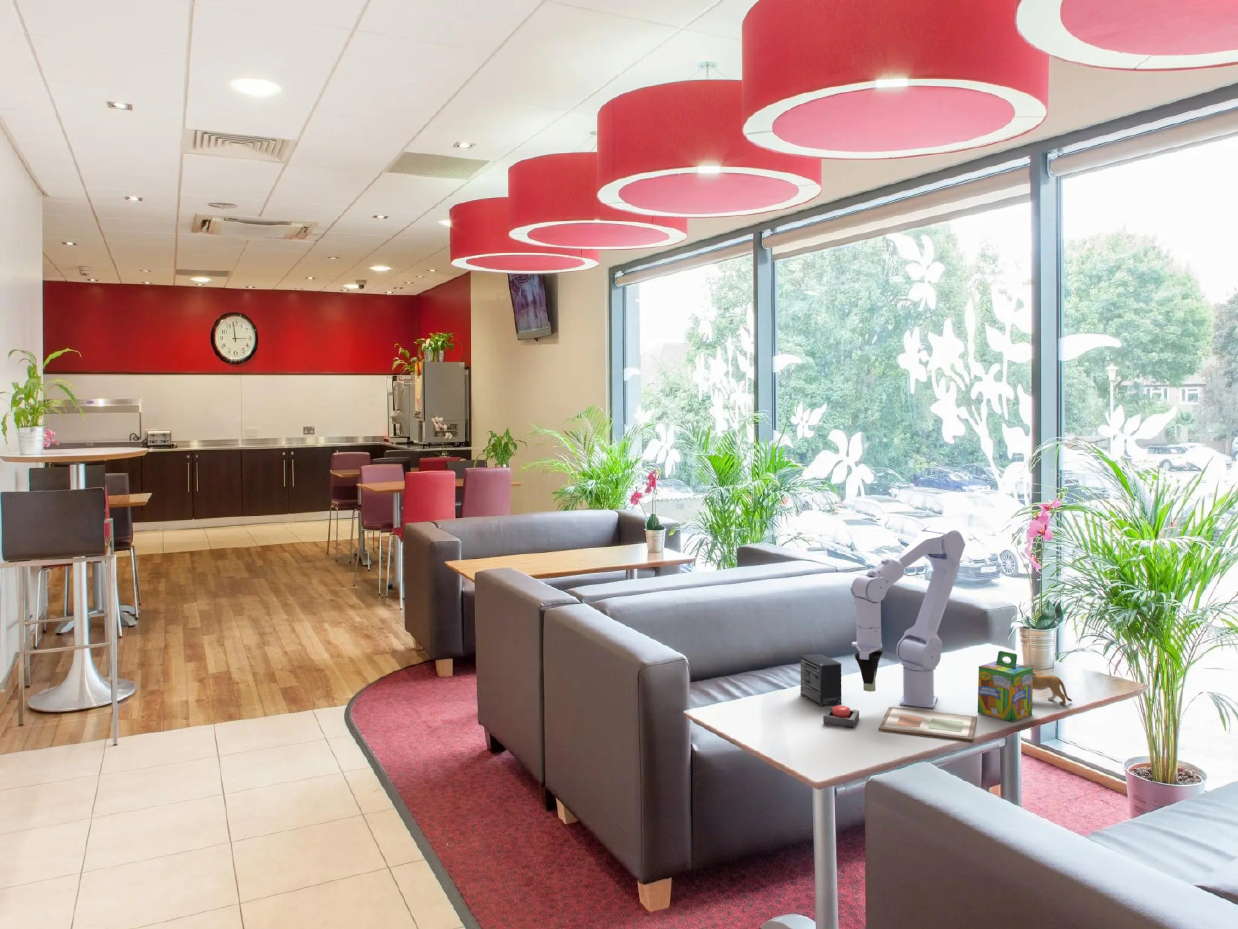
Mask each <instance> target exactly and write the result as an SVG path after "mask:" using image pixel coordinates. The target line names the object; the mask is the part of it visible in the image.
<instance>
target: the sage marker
mask: <svg viewBox="0 0 1238 929" xmlns="http://www.w3.org/2000/svg"><path fill="white" fill-rule="evenodd" d="M862 682H863V681H862ZM862 685H863V691H865V692H875V691H877V690H876V678H875V675H874V681H873V684H865V683H864V682H863V684H862Z"/></svg>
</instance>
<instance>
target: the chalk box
mask: <svg viewBox="0 0 1238 929" xmlns="http://www.w3.org/2000/svg"><path fill="white" fill-rule="evenodd" d="M1005 657H1007V658H1010V661H1004V660H1003V659H1004V658H1005ZM1017 661H1018V655H1017V654H1016V653H1013V652H1007V651H1004V650H999V651H998V654H997V657H996V660H995V661H992V662H988V663H985V664H982V665H979V666H978V682H977V684H978V685H977V686H978V688H977V713H978V714H983V715H985V716H989V717H993V718H996V719H999V720H1002V721H1006V722H1010V723H1014V722H1016V721H1019V720H1021V719H1022V720H1023V719H1024V718H1026V717H1027V718H1028V717H1029V716H1032V714H1033V690H1034V689H1033V673H1034V668H1032V667H1031V666H1027V665H1023V664H1017Z"/></svg>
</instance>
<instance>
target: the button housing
mask: <svg viewBox="0 0 1238 929" xmlns="http://www.w3.org/2000/svg"><path fill="white" fill-rule="evenodd" d="M822 720H823V722H822V724H823V726H829V727H830V726H832V727H838V728H839V727H840V728H848V729H855V727H856V726H857V724H858V722H859V721H860V710H857V709H850V717H849V718H845V717H836V716H833V707H828V709H827V710H826V712H825V713H824V715H823V718H822Z"/></svg>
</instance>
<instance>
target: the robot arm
mask: <svg viewBox="0 0 1238 929" xmlns="http://www.w3.org/2000/svg"><path fill="white" fill-rule="evenodd" d="M965 546H966V542H965V540H964V538H963V535H962V534H961V532H960V531H958V530H956V529H946V528H945V529H944V528H938V527H933V526H925V527H923V528H922V529H921V530H920V531H919V532H917V533H916V535H915V538H914V539H913V540H912V541H911V542H910V543H909V544H908V545H907V546H905V547H904V549H902V551H901V552H899V553H898V554H897V555H896V556H895V557H894V558H892V557H886V558H884V557H883V559H881V560H880V563H879V564H878V565H877V566H875V567H873V568H872V569H870V570H868V571H867V573H866V574H865V575H859V576H857V577H856V578H855V579H853V582H852V584H851V586H850V588H849V589H850V592H851V593H850V594H851V596H853V599H854V604H855V609H856V610H855V611H856V613H855V614H856V615H855V616H856V619H855V622H856V624H855V625H856V641H852V642H851V646H852V647H856V649H857V651H858V652H856V653H855V654H854V658H855V661H856V662H857V664H858V667H859V670H860V674H861V678H862V682H864V683H865V684H873V681H874V675H875V679H876V678H877V671H878V666H879V662H880V659H881V657H882V655H883V653H884V650H883V644H882V609H881V606H882V604H881V602H882V601H883V600H884V598H885V597H886V595H887V591H888V590H889V589H890V587H892V586H893V585H894V584H895V583H897V582H898V581H899V580H901V578H903V577H904V575H905V570H906V569H907V568H908V567H909V566H911V565H912V564H914V563H915V562H917V561H919V559H921V558H923V557H924V556H927V558H928V559H929V561H930V562H932V564H933V567H934V569H933V572H932V576H931V578H930V581H929V583H928V587H927V590H926V593H925V596H924V597H923V601H922V604H921V607H920V609H919V612H918V616H917V618H916V620H915V624H914V625H913V626H911V627H909V628H908V629H906V630H905V631H904V634H903V636H902V638H901V639H900V640H898V643H897V644H896V648H895V649H896V650H895V652H896V656H897V658H898V660H900V664H901V665H902V675H903V678H902V679H903V682H902V683H903V684H902V685H903V691H902V692H903V695H902V698H901V699H900V701H899V705H902V706H911V707H912V706H913V707H920V708H929V709H934V708H935V705H936V703H937V699H938V695H937V694H935V691H934V689H935V687H934V682H935V680H934V678H935V677H934V675H935V674H934V673H935V672H934V670H936V669H937V668H936V667H938V665H939V663H940V661H941V657H942V656H941V655H942V654H941V653H942V652H941V651H942V646H943V641H942V640H941V639H940V637H939V635H938V630H939V627H940V625H941V621H942V618H943V616H944V613H945V611H946V607H947V604H948V602H949V599H950V597H951V596H950V595H951V593H952V590H953V587H954V584H955V582H956V578H957V576H958V573H959V570H960V565H961V564H960V562H961V558H962V556H963V552H964V550H965Z"/></svg>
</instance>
